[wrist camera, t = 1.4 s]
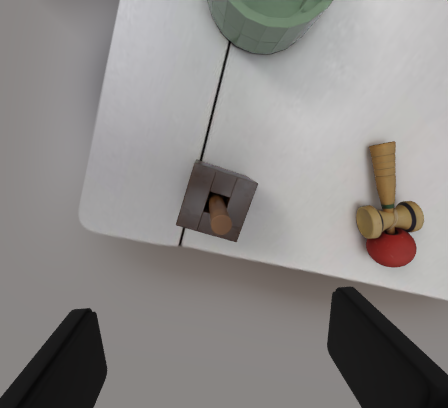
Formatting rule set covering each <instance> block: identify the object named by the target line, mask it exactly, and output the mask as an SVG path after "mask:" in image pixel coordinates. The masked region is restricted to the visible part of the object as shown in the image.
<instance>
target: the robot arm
mask: <svg viewBox="0 0 448 408" xmlns="http://www.w3.org/2000/svg"><path fill="white" fill-rule="evenodd" d="M327 347H328V351H329V354H330V356H331V358H332V359H333V361H334V363H335V364H336V366H337V368H338V369H339V371H340V372H341V374H342V376H343V378H344V379H345V381H346V382H347V384H348V386H349V387H350V389H351V391H352V392H353V394H354V395H355V397H356V399H357V400H358V402H359V404H360V405H361V407H362V408H448V375H447V374H446V373H445V372H444V371H443V370H442V369H441V368H440V367H439V366H438V365H437V364H435V362H433V361H432V360H431V359H430V358H429V357H428V356H427V355H426V354H425V353H424V352H423V351H422V350H420V349H419V348H418V347H417V346H416V345H415V344H414V343H413V342H412V341H411V340H410V339H409V338H407V336H405V335H404V334H403V333H402V332H401V331H400V330H399V329H398V328H397V327H396V326H395V325H394V324H392V323H391V322H390V321H389V320H388V319H387V318H386V317H385V316H384V315H383V314H382V313H381V312H379V310H377V309H376V308H375V307H374V306H373V305H372V304H371V303H370V302H369V301H368V300H367V299H366V298H365V297H363V296H362V295H361V294H360V293H359V292H358V291H357V290H356V289H355V288H353V287H341V288H340V287H339V288H337V289H336V291H335V292H333V294H332V302H331V312H330V323H329V332H328V342H327ZM106 375H107V365H106V360H105V355H104V349H103V344H102V339H101V334H100V329H99V324H98V319H97V314H96V313H95V312H92V310H91V309H90V308H87V309H74V310H72V311H71V312H70V313H69V314H68V315H67V317H66V318H65V319H64V320H63V321H62V323H61V324H60V325H59V327H58V328H57V329H56V330H55V331H54V332H53V334H52V335H51V336H50V337H49V339H48V340H47V341H46V343H45V344H44V345H43V346H42V347H41V349H40V350H39V351H38V352H37V354H36V355H35V356H34V358H32V360H31V361H30V362H29V363H28V365H27V366H26V367H25V368H24V370H23V371H22V372H21V373H20V374H19V376H18V377H17V378H16V379H15V381H14V382H13V383H12V384H11V386H10V387H9V388H8V389H7V390H6V392H5V393H4V394H3V395H2V397H1V398H0V408H93V407H94V405H95V403H96V400H97V398H98V396H99V393H100V391H101V388H102V386H103V384H104V381H105V379H106Z"/></svg>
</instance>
